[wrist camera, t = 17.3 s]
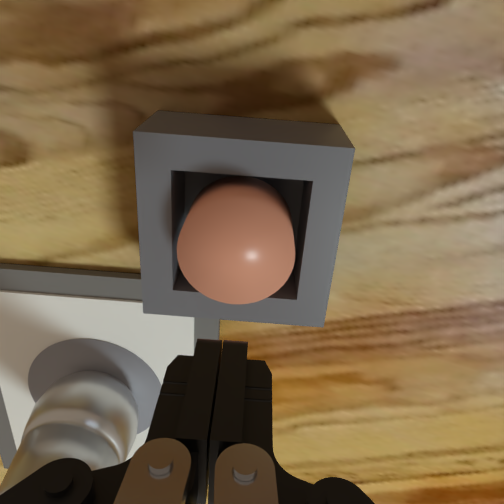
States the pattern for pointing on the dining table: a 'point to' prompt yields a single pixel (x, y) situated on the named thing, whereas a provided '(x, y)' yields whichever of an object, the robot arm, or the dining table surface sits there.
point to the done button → (237, 241)
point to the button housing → (240, 164)
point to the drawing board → (82, 340)
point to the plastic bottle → (77, 425)
